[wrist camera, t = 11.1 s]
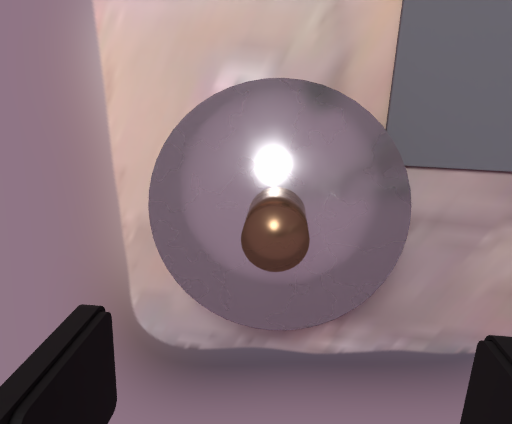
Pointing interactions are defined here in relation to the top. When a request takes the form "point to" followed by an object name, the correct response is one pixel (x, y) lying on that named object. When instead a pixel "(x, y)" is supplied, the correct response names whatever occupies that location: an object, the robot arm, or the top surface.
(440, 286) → the top surface
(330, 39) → the top surface
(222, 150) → the lid
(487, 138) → the mat
